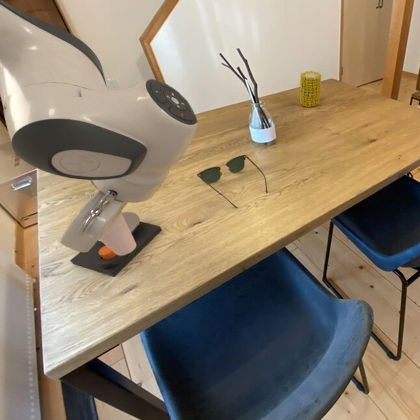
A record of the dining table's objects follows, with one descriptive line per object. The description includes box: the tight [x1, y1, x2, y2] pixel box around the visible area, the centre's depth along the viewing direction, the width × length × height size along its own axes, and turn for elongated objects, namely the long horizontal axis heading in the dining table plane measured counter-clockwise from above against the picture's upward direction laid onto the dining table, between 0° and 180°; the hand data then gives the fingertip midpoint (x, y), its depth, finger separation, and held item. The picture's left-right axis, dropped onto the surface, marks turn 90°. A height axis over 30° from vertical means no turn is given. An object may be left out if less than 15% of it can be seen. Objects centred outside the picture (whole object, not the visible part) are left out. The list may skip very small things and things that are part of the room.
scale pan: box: [98, 211, 141, 243], centre depth 68 cm, size 10×10×1 cm
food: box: [299, 70, 322, 108], centre depth 127 cm, size 15×12×10 cm
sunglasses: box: [196, 154, 268, 209], centre depth 83 cm, size 16×17×5 cm
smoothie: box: [85, 191, 136, 255], centre depth 50 cm, size 6×6×14 cm
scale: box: [69, 220, 163, 278], centre depth 66 cm, size 15×12×3 cm
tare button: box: [99, 246, 117, 260], centre depth 62 cm, size 3×3×2 cm
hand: (101, 219), depth 49 cm, fingers closed on smoothie, 6 cm apart
